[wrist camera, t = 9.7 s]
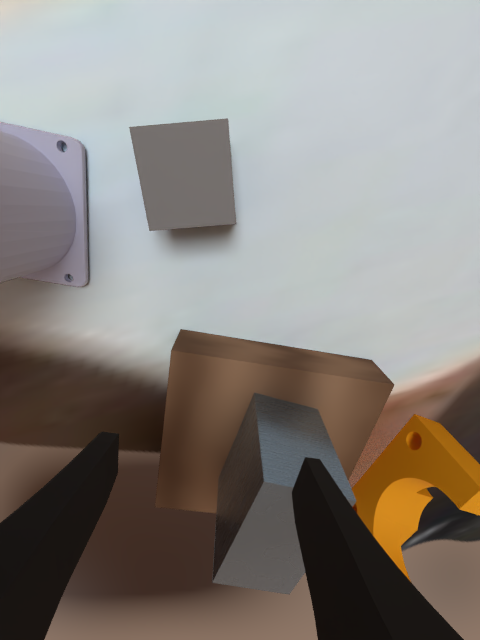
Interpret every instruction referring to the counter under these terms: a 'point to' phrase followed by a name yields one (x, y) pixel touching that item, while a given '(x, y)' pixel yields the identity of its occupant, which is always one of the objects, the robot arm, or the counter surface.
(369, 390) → the walnut stand
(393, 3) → the counter surface
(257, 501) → the block
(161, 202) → the grey rubber block
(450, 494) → the pipe clamp
